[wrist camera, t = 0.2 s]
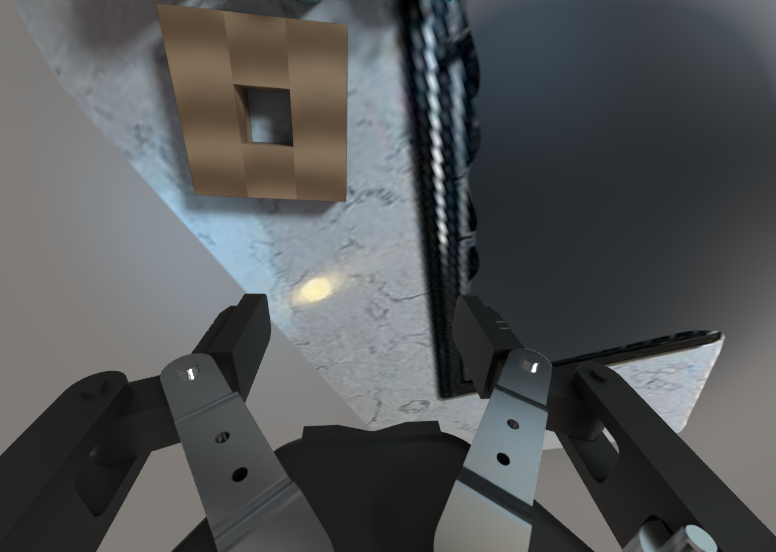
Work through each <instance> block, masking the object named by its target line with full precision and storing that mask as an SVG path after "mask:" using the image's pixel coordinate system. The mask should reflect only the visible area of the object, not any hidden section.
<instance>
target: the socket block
mask: <svg viewBox="0 0 776 552" xmlns="http://www.w3.org/2000/svg"><path fill="white" fill-rule="evenodd" d="M156 6H157V11H158V16H159V21H160V25H161V30H162V35H163V40H164V45H165V50H166V54H167V59H168V64H169V69H170V74H171V78H172V83H173V88H174V93H175V98H176V103H177V107H178V112H179V117H180V122H181V127H182V131H183V136H184V141H185V146H186V151H187V156H188V160H189V165H190V170H191V175H192V180H193V185H194V189H195V194H196V195H209V196H231V197H253V198H274V199H296V200H318V201H339V202H346V195H347V71H348V33H347V25H344V24H335V23H326V22H317V21H309V20H300V19H291V18H282V17H273V16H265V15H256V14H247V13H238V12H229V11H220V10H212V9H203V8H194V7H185V6H176V5H167V4H159V3H156ZM247 88H248V89H260V90H271V91H283V92H290V99H291V115H292V131H293V144H279V143H264V142H253V139H252V131H251V122H250V114H249V105H248V97H247Z"/></svg>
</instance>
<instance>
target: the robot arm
mask: <svg viewBox="0 0 776 552" xmlns="http://www.w3.org/2000/svg"><path fill="white" fill-rule="evenodd" d="M452 334H453V339H454V341H455V343H456V345H457V348H458V350H459V352H460V354H461V356H462V359H463V361H464V363H465V365H466V368H467V370H468V372H469V374H470V376H471V379H472V381H473V383H474V385H475V387H476V390H477V392H478V394H479V396H480V399H489V402H488V404H487V407H486V409H485V412H484V414H483V417H482V419H481V422H480V424H479V427H478V429H477V432H476V434H475V437H474V439H473V442H472V444H469V443H468V442H466V441H464V440H462V439H461V438H458V437H456V436H454V435H451V434H448V433H444V432H441V430H440V426H439V423H438V421H419V422H405V423H401V424H398V425H394V426H391V427H388V428H384V429H381V430H377V431H366V430H361V429H356V428H351V427H346V426H341V425H325V426H304V429H303V435H302V438H300V439H297V440H295V441H292V442H289V443H287V444H285V445H283V446H281V447H280V448H278V449H276V450H275V451H273V450H272V449H271V447H270V445H269V443H268V442H267V440H266V438H265V437H264V435H263V433H262V432H261V430H260V428H259V427H258V425H257V423H256V421H255V420H254V418H253V416H252V415H251V413H250V411H249V410H248V408H247V407H246V405H245V402H246V399H247V396H248V394H249V392H250V389H251V386H252V384H253V381H254V379H255V376H256V374H257V371H258V369H259V366H260V364H261V361H262V358H263V356H264V353H265V351H266V348H267V346H268V343H269V340H270V335H271V323H270V315H269V308H268V301H267V296H266V294H244V296H243V297H242V299H241V300H240V302H239V304H238V305H237V306H230V307H228V308H227V309H225V310H224V311H222V312H221V313H220V314H219V315H218V317H217V318H216V319H215V321H214V323H213V324H212V325H211V326H210V328H209V331H207V332H206V334H205V335H204V336H203V338H202V339H201V341H200V342H199V344H198V345H197V346H196V348H195V349H194V350H193V352H192V353H191V354H189V355H185V356H182V357H180V358H178V359H176V360H174V361H172V362H171V363H169V364H168V365H167V366H166V367H165V368H164V369H163V370H162V372H161V374H160V375H158V376H155V377H151V378H146V379H142V380H138V381H133V382H128V380H127V377H126V375H125V374H124V373H122V372H118V371H106V372H100V373H97V374H94V375H91V376H88V377H86V378H83V379H81V380H80V381H78V382H76V383H74V384H73V385H71V386H70V387H69V388H68V389H66V390H65V391H64V392H63V393H62V394H61V395H60V396H59V397H58V398H57V399H56V400H55V402H53V403H52V404H51V405H50V406H49V407H48V408H47V409H46V410H45V411H44V412H43V413H42V414H41V415H40V416H39V417H38V418H37V419H36V420H35V421H34V422H33V423H32V424H31V425H30V426H29V427H28V428H27V429H26V430H25V431H24V432H23V433H22V434H21V436H19V437H18V438H17V440H16V441H14V443H12V445H10V446H9V448H8V449H7V450H6V451H5V452H4V453H3V454H2V455H1V456H0V552H96V551H97V549H98V547H99V545H100V544H101V542H102V540H103V538H104V536H105V535H106V533H107V531H108V529H109V527H110V525H111V524H112V522H113V520H114V518H115V516H116V515H117V512H118V511H119V509H120V507H121V506H122V504H123V502H124V500H125V498H126V497H127V494H128V493H129V491H130V489H131V487H132V486H133V484H134V482H135V480H136V478H137V477H138V475H139V473H140V471H141V469H142V468H143V466H144V464H145V462H146V460H147V458H148V457H149V455H150V453H151V451H155V450H158V449H161V448H164V447H168V446H171V445H174V444H177V443H180V442H181V443H182V446H183V449H184V452H185V455H186V458H187V461H188V464H189V467H190V469H191V472H192V476H193V479H194V482H195V485H196V487H197V490H198V493H199V496H200V499H201V502H202V505H203V508H204V511H205V514H206V517H205V518H204V519H203V520H202V521H201V522H200V523H199V524H198V525H197V526H196V528H194V530H192V531H191V532H190V533H189V534H188V535H187V536H186V538H184V539H183V540H182V541H181V542H180V543H179V544H178V545H177V546H176V547H175V548H174V549H173V550H172V551H171V552H594V551H593V550H592V549H591V548H590V547H588V546H587V545H586V544H585V543H584V542H583V541H582V540H580V539H579V538H578V537H577V536H576V535H575V534H574V533H572V532H571V531H570V530H569V529H568V528H567V527H566V526H564V525H563V524H562V523H561V522H560V521H559V520H557V519H556V518H555V517H554V516H553V515H552V514H551V513H550V512H548V511H547V510H546V509H545V508H544V507H543V506H541V505H540V504H539V503H538V502H537V501H536V500H535V499H534V494H535V488H536V481H537V476H538V469H539V464H540V458H541V451H542V446H543V440H544V434H545V430H549V431H553V432H555V434H556V435H557V437H558V439H559V441H560V442H561V444H562V446H563V448H564V449H565V451H566V453H567V455H568V456H569V458H570V460H571V461H572V463H573V465H574V467H575V468H576V470H577V472H578V474H579V475H580V477H581V479H582V480H583V482H584V484H585V485H586V487H587V489H588V491H589V492H590V494H591V496H592V498H593V500H594V501H595V503H596V505H597V506H598V508H599V510H600V512H601V513H602V515H603V517H604V519H605V520H606V522H607V524H608V525H609V527H610V529H611V530H612V533H613V534H614V536H615V538H616V539H617V541H618V543H619V545H620V546H621V548H622V552H776V536H775V535H774V534H773V533H772V532H771V531H770V530H769V529H768V528H767V527H766V526H765V525H764V524H763V523H762V522H761V521H760V520H759V519H758V518H757V517H756V516H755V515H754V514H753V513H752V512H751V510H749V508H748V507H747V506H746V505H744V503H743V502H742V501H741V500H740V499H739V498H738V497H737V496H736V495H735V494H734V493H733V492H732V491H731V490H730V489H729V488H728V487H727V486H726V485H725V484H724V483H723V482H722V480H721V479H720V478H719V477H718V476H717V475H716V474H715V473H714V472H713V471H712V470H711V469H710V468H709V467H708V466H707V465H706V464H705V463H704V462H703V461H702V460H701V459H700V458H699V457H698V456H697V455H696V454H695V452H693V450H692V449H691V448H690V447H689V446H688V445H687V444H686V443H685V442H684V441H683V440H682V439H681V438H680V437H679V436H678V435H677V434H676V433H675V432H674V431H673V430H672V429H671V428H670V427H669V426H668V425H667V424H666V422H665V421H664V420H663V419H662V418H661V417H660V416H659V415H658V414H657V413H656V412H655V411H654V410H653V409H652V408H651V407H650V406H649V405H648V404H647V403H646V402H645V401H644V400H643V399H642V398H641V397H640V396H639V395H638V393H637V392H636V391H635V390H634V389H633V388H632V387H631V386H630V385H629V384H628V383H627V382H626V381H625V380H624V379H623V378H622V377H621V376H620V375H619V374H618V373H616V372H615V371H613V370H612V369H610V368H608V367H606V366H604V365H601V364H598V363H595V362H582V363H580V364H579V365H578V367H577V369H576V371H575V372H572V371H567V370H563V369H558V368H554V367H552V365H551V363H550V362H549V361H548V360H547V359H546V358H545V357H544V356H543V355H541V354H539V353H537V352H535V351H533V350H530V349H525V348H524V346H523V345H522V344H521V342H520V341H519V340H518V338H517V337H516V336H515V334H514V333H513V332H512V330H511V329H509V326H508V325H507V324H506V323H505V322H504V320H503V318H502V317H501V316H500V314H499V313H498V312H496V311H495V310H493V309H492V308H490V307H485V305H484V304H483V303H482V301H481V300H480V298H479V297H478V296H476V295H460V296H459V297H458V299H457V303H456V309H455V314H454V319H453V325H452ZM605 427H606V429H607V430H608V431H609V433H610V434H611V435H612V437H613V438H614V440H615V441H616V443H617V445H618V448H619V454H618V452H617V451H616V450H615V448H614V447H613V446H612V444H611V443H610V441H609V440H608V439H607V437H606V436H605V435H604V433H603V432H602V431H603V429H604V428H605Z"/></svg>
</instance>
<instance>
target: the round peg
mask: <svg viewBox="0 0 776 552" xmlns="http://www.w3.org/2000/svg"><path fill="white" fill-rule="evenodd" d="M297 1H299V2H301V3H305V4H314V3H317V2H320V1H321V0H297Z"/></svg>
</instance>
